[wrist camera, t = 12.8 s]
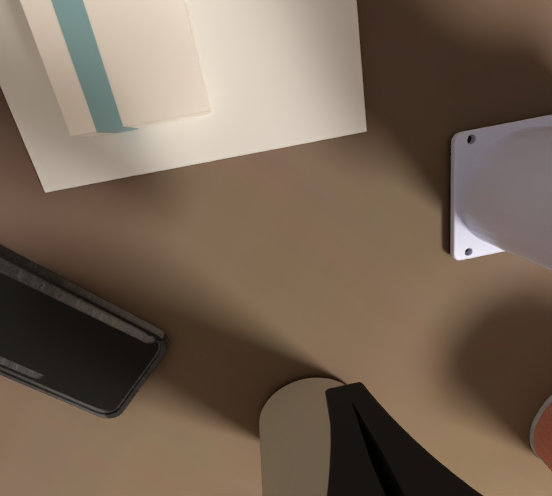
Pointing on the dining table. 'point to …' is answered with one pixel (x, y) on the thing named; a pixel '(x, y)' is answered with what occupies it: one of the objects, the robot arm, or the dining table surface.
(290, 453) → the travel mug
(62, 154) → the mat
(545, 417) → the canned food
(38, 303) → the phone
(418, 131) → the dining table surface
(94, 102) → the card deck
